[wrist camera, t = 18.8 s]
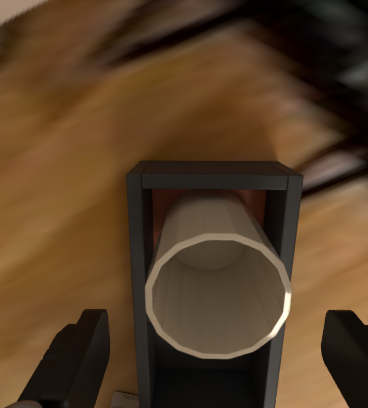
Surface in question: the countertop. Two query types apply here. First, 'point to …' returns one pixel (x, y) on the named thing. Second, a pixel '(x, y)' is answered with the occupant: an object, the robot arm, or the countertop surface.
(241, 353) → the cup
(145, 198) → the cup holder
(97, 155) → the countertop surface
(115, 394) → the coffee box
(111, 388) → the countertop surface
